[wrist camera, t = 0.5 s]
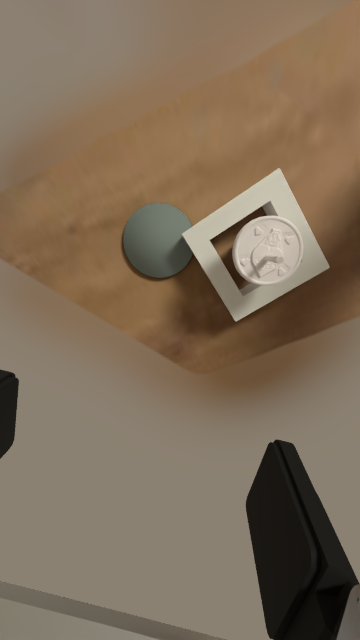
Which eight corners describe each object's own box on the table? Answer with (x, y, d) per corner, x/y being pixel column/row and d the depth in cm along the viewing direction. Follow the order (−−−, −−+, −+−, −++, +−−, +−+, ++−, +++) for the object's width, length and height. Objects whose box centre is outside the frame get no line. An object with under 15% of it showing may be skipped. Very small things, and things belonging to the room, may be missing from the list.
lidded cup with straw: (217, 268, 35) (229, 282, 22) (232, 217, 33) (256, 197, 20) (265, 281, 35) (307, 303, 22) (282, 230, 34) (340, 220, 20)
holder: (269, 177, 32) (279, 167, 28) (315, 265, 34) (330, 267, 31) (183, 235, 34) (181, 233, 31) (231, 313, 37) (235, 322, 33)
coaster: (169, 188, 33) (169, 187, 32) (208, 252, 35) (208, 252, 34) (110, 230, 35) (109, 230, 34) (150, 290, 36) (149, 290, 36)
